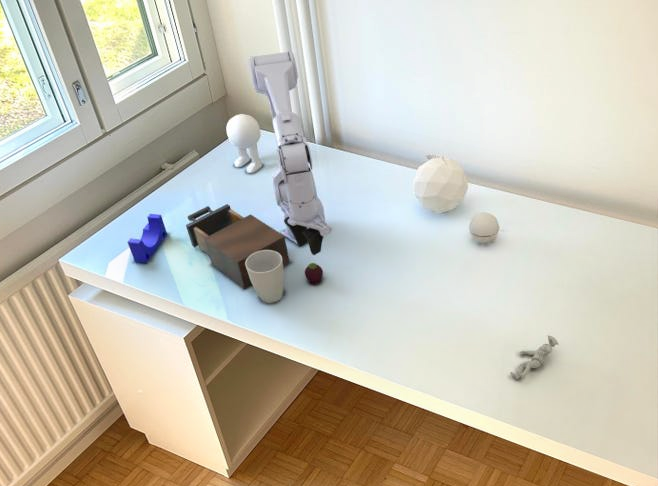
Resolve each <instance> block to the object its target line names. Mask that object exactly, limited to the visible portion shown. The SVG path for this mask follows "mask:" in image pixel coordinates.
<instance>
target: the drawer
mask: <svg viewBox="0 0 658 486" xmlns="http://www.w3.org/2000/svg"><path fill="white" fill-rule="evenodd" d="M244 217H245V216H242V215H241V214H239V213H238V212H236V211H234V210H233V209H232V208H231V205H230V204H228V203H227V204H224V205H222V206H221V207H218V208H216V209H214V210H212V209H211V207H210V206H209V205H207V206H205V207H203V208H201V209H199V210H197V211H195V212H193V213H191V214H189V215H187V219H188V221H189V223H187V224H185V227H186V230H187V233H188V237H189V240H190V243H191V247H193V248H197V247H198V248H199V249H200V250H202V251H203V252H204V253H206V254H207V255H209V252H208V249H207V246H206V242H205V238H206V237H208V236H210V235H212V234H214V233H216V232H218V231H220V230H222V229H224V228H225V227H227V226H229V225H231V224H233V223H235V222H237V221H239V220H241V219H243V218H244Z"/></svg>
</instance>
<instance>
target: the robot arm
mask: <svg viewBox="0 0 658 486" xmlns="http://www.w3.org/2000/svg"><path fill="white" fill-rule="evenodd" d="M248 65H249V70H250V74H251V76H250V77H251V80H252V84H253V88H254V90H255V91H256V93H257V94H261V95H264V96H265V98H266V99H267V101H268V103H269V109H270V114H271V118H272V127H273V132H274V137H275V142H276V145H277V149H276V155H277V161H278V165H279V167H278V168H276V170H275V171H274V172H273V173H272V177H271V178H272V186H273V191H274V196H275V202H276V204H277V206H278V207H279V208H280V211H281V212H282V213H283V214H284V215H283V216H284V219H283V222H284V224H285V225H286V228H285V229H283V230H281V231H280V234H282V235H283V236H285V238H287V239H288V240H290V241H292V242H293V243H295V244H296V245H297V246H299V247H302V246H304V245H306V244H308V246H309V250H310V254H311V255H313V256H316V255H317V254H320V253H321V252H322V247H323V246H322V245H323V240H324V237H325V236H327V235H328V234H330V233H331V229H330V225H329V224H328V223H327V222H326V217H325V209H324V205H323V203H322V201H321V200H320V198H319V197H318V192H317V187H316V182H315V178H314V175H313V171H312V170H313V158H312V153H311V149H310V145H309V143H308V141H307V138H306V137H305V135H304V131H303V127H302V122H301V119H300V118H301V117H300V116H299V115H298V114H297V113H295V112H293V109H292V102H291V101H292V100H291V94H290V91H292V90H294V89H296V87H297V84H298V79H299V75H298V74H299V73H298V67H297V61H296V57H295V53H294V52H292V51H291V50H288V51H284V52H276V53H269V54H261V55H256V56H255V55H254V56H253V55H250V56H249V58H248Z"/></svg>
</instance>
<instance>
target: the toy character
mask: <svg viewBox="0 0 658 486" xmlns="http://www.w3.org/2000/svg"><path fill="white" fill-rule="evenodd" d="M226 135H227V138H228V140H229V142H230V143H231V144H232V145H234V147H236V148H237V151H238V155H239V157H238V158H236V159H235V161H234V167H236V168H241V167H244V165H246V164H248V163H249V162H250V160H251V163H249V164H248V166H247V167H246V173H248V174H253V173H254V174H255V172H258V170H259V169H261V167H262V166H263V163H262V160H261V159H260V156H259V155H260V154H259V149H258V143H259V141H260V138H261V127H260V125H259V123H258V121H257V120H256V118H254V117H253V116H251V115H249V114H244V113H239V114H235V115H234V116H232V117H231V118H230V119H229V120H228V121H227V123H226ZM247 149H248V152H249V153H248V152H247Z"/></svg>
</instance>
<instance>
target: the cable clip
mask: <svg viewBox="0 0 658 486" xmlns="http://www.w3.org/2000/svg"><path fill="white" fill-rule="evenodd" d="M146 217H147V223H146V224H145V226H144V227H143V228H142V233H141V237H140V239H139V238H129V240H128V241H127V245H128V248H129V250H130V253H131V255H132V258H133V262H134V263H141V264H148V262H149V261H150V259H151V258H152V256H153V255H154V254H155V252H156V251H157V249H159V247H160V245H162V243H163V241H164V240H165V239H166V237H167V236H168V232H167V229H166V226H165V223H164V220H163V217H162V214H156V213H149V214H148V215H147V216H146Z"/></svg>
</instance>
